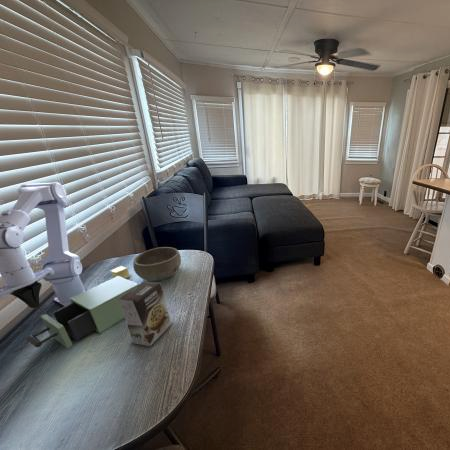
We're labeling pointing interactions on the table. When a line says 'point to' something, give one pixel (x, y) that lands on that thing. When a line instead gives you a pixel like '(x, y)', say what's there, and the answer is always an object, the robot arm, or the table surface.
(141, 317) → the brown food box
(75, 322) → the drawer
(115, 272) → the block
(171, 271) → the bowl
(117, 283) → the pale mint box
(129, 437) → the table surface
